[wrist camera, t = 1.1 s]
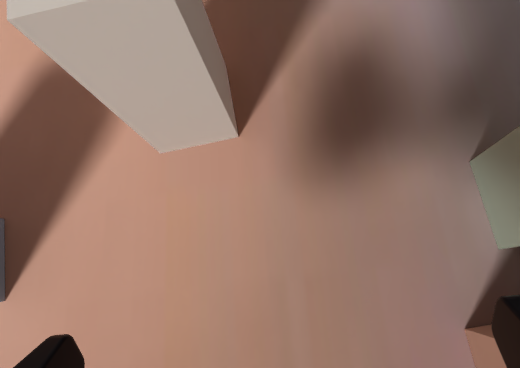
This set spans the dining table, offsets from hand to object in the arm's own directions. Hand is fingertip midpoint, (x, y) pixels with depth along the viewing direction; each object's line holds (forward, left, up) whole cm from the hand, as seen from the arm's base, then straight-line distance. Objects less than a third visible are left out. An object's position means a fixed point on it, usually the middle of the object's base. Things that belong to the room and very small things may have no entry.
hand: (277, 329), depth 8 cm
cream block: (+10, +9, -14) cm, 19 cm away
